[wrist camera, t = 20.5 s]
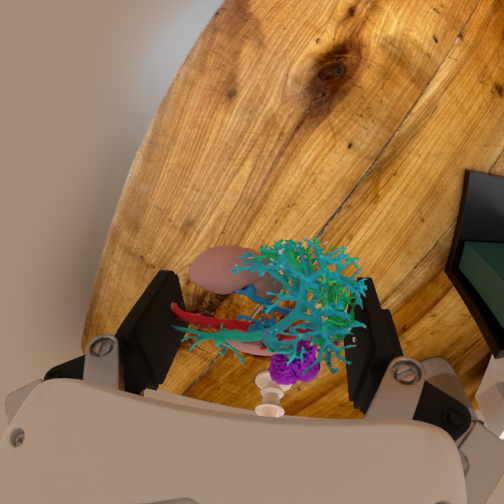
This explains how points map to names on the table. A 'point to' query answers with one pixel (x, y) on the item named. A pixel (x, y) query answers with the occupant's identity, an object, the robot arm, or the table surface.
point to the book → (486, 273)
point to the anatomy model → (267, 288)
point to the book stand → (478, 230)
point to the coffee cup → (447, 382)
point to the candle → (270, 395)
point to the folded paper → (493, 396)
